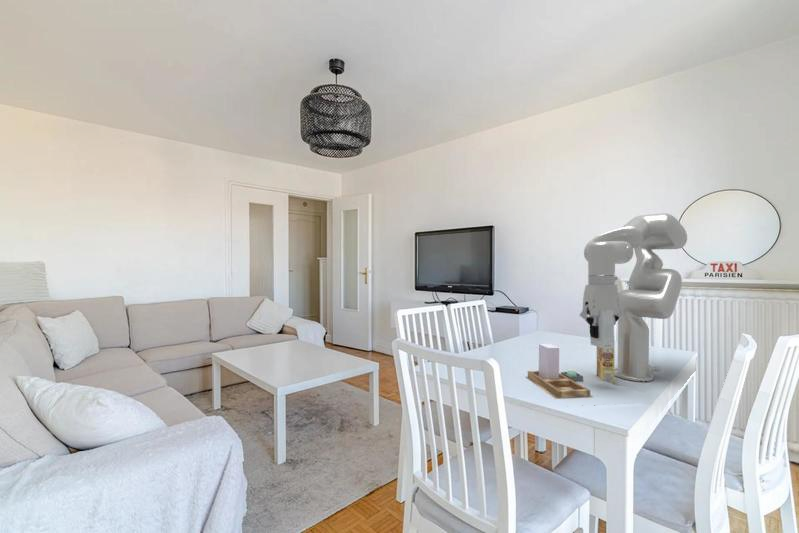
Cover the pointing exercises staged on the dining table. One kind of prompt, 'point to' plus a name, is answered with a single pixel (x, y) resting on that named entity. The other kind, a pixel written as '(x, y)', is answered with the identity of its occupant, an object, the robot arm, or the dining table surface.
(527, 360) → the dining table surface
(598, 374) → the candy box
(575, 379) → the grey square holder
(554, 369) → the seated billet
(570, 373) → the button
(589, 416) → the dining table surface
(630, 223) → the robot arm
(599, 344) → the skincare box
